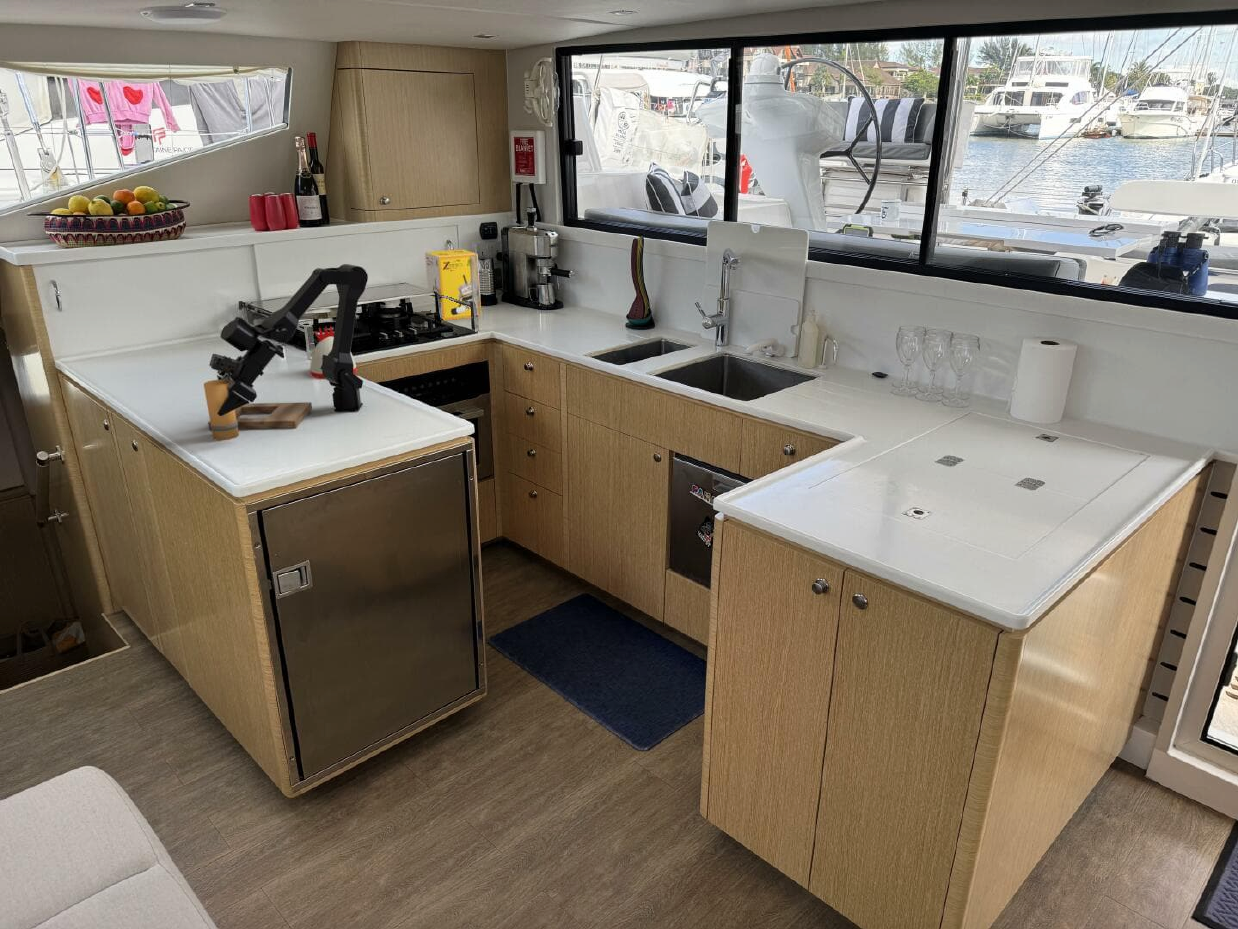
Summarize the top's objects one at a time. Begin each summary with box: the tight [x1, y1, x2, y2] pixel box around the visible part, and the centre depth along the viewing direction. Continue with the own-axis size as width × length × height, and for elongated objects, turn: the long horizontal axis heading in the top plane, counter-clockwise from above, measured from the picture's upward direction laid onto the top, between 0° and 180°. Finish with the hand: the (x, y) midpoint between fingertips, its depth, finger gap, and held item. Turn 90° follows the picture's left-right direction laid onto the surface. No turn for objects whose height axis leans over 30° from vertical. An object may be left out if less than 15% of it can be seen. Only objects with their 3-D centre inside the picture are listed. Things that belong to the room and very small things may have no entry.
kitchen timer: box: [309, 325, 358, 380], centre depth 274 cm, size 14×14×15 cm
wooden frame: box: [207, 401, 313, 431], centre depth 234 cm, size 22×16×2 cm
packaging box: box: [424, 248, 482, 322], centre depth 354 cm, size 16×16×25 cm
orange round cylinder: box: [203, 379, 240, 441], centre depth 219 cm, size 6×6×14 cm
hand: (215, 410), depth 219 cm, fingers open, 9 cm apart
